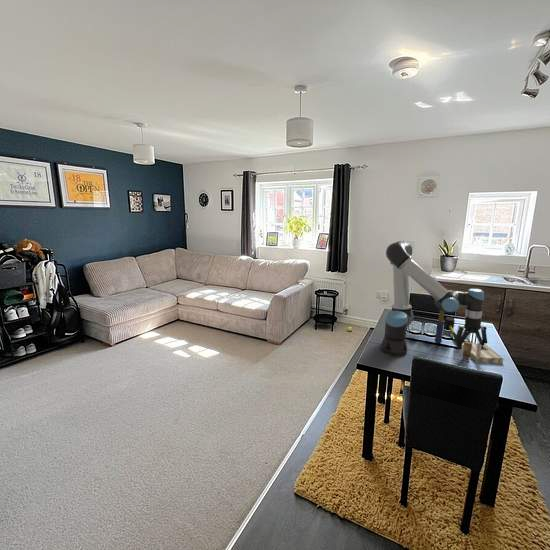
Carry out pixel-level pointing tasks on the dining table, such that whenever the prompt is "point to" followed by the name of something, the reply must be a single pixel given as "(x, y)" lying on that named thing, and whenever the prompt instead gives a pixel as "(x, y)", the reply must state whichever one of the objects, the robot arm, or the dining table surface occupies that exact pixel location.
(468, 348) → the peg
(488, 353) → the board
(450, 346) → the dining table surface
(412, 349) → the dining table surface
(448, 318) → the mallet
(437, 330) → the rubber mallet
